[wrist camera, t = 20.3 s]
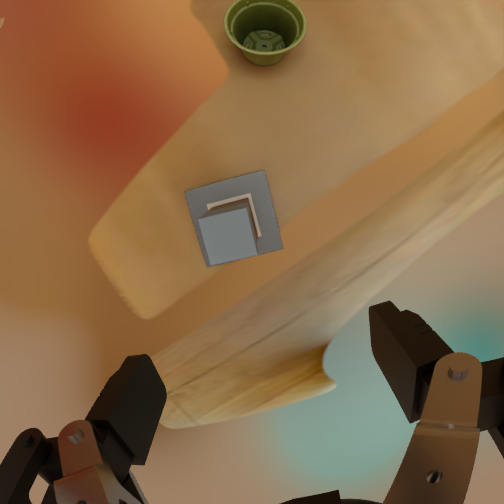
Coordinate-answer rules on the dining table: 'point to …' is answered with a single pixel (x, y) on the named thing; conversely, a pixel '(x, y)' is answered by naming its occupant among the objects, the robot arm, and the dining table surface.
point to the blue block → (228, 233)
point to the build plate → (231, 191)
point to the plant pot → (265, 28)
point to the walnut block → (236, 204)
